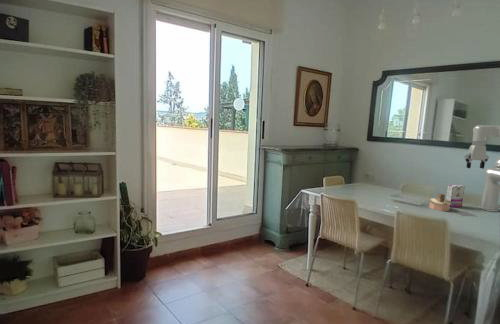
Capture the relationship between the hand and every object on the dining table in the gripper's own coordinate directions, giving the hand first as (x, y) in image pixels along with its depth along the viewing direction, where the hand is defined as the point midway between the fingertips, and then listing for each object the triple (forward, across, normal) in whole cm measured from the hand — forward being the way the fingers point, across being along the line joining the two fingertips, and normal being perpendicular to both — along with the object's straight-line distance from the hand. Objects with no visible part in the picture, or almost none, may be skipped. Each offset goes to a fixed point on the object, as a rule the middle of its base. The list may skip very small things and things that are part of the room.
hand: (475, 168), depth 225 cm
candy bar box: (+32, +3, -13) cm, 35 cm away
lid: (+27, +18, -5) cm, 33 cm away
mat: (+32, +7, +6) cm, 33 cm away
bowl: (+32, +19, -5) cm, 37 cm away
